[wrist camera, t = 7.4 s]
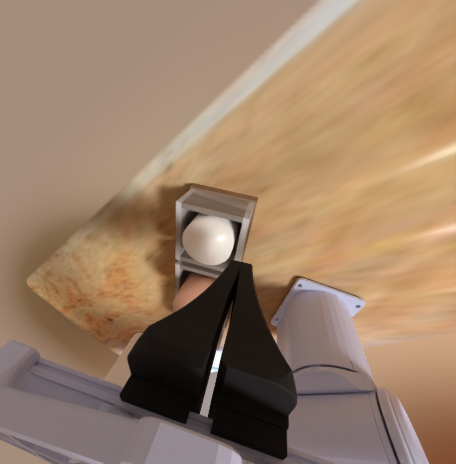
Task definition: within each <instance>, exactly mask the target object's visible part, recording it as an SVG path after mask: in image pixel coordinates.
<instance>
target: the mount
mask: <svg viewBox="0 0 456 464" xmlns="http://www.w3.org/2000/svg"><path fill="white" fill-rule="evenodd" d="M257 199H258V198H256V197H252V196H247V195H243V194H239V193H234V192H230V191H225V190H221V189H216V188H212V187H208V186H203V185H199V184H194V183H193V184H192V185H190V189H189V191H188V192H187V193H185V194H184V195H183V196H182V197H181V198H179V199H178V200H177V201H176V245H175V259H177V262H176V263H175V297H176V296H177V294H178V292H179V290H180V289H181V287H182V285H183V283H184V282H185V280H186V278H187V277H188V275H189V273H190V272H191V271H192V272H195V273H199V274H202V275H206V276H209V277H213V278H218V277H219V276H220V274H221V273H222V272H223V271H224V270H225V268H226V267H227V266H228V264H229V263H230V261H231V260H236V261H240V262H242V261H243V256H244V252H245V248H246V244H247V240H248V236H249V232H250V228H251V224H252V220H253V216H254V212H255V207H256V203H257ZM199 212H200V213H204V214H208V215H212V216H216V217H220V218H224V219H229V220H233V221H237V222H240V229H239V232H238V235H237V238H236V241H235V244H234V246H233V249H232V252H231V255H230V257H229V258H228V259H227V260H226V261H225V262H223V263H221V264H218V265H206V264H202V263H200V262H198V261H196V260H194V259H193V258H192V257H191V256H190V255H189V254H188V253H187V252H186V250H185V248H184V246H183V242H182V236H183V233H184V231H185V229H186V228H187V227H188V225H189V224H190V223H191V222H192V221H193V219H194V218H195V217H196V216H197V215H198V213H199ZM231 306H232V304H231ZM230 310H231V307H230ZM230 310H229V312H228V315H227V318H226V321H225V323H224V326H223V329H222V332H221V335H220V338H219V342H218V346H217V349H218V350H219V347H220V343H221V340H222V336H223V332H224V328H226V326H227V322H228V318H229V314H230Z"/></svg>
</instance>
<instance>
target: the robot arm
mask: <svg viewBox="0 0 456 464" xmlns="http://www.w3.org/2000/svg"><path fill="white" fill-rule="evenodd" d="M252 267H253V266H252V265H251V264H248V263H244V262H240V261H236V260H231V261H230V263H229V264H228V266H227V267H226V268H225V270H224V271H223V272H222V273H221V274H220V276H219V277H218V278H217V279H216V280H215V281H214V282H213V283H212V284H211V285H210V286H209V287H208V288H207V289H206V290H205V291H203V292H202V293H201V294H200V295H199V296H197V297H196V298H195V299H194V300H192V301H191V302H189V303H188V304H187V305H185V306H184V307H182V308H181V309H179V310H177V311H176V312H174V313H172V314H171V315H169V316H167V317H166V318H164V319H162V320H160V321H158V322H156V323H154V324H152V325H150V326H149V327H148V328H147V329H146V330H145V331H144V332H143V334H142V335H141V336H140V337H139V339H138V340H137V341H136V343H135V344H134V346H133V348H132V349H131V351H130V353H129V354H128V356H127V361H128V365H129V368H130V372H131V375H130V377H129V379H128V381H127V382H126V384H125V386H124V387H121V386H119V385H116V384H113V383H110V382H108V381H105V380H102V379H99V378H96V377H93V376H91V375H88V374H85V373H82V372H80V371H77V370H74V369H71V368H69V367H66V366H63V365H60V364H57V363H55V362H52V361H49V360H46V359H44V358H41V357H40V354H39V353H38V352H37V350H36V349H34V348H32V347H31V346H28V345H25V344H22V343H20V342H17V341H14V340H10V341H8V342H7V343H6V344H5V345H4V346H2V347H1V348H0V440H2V441H4V442H7V443H9V444H11V445H13V446H15V447H18V448H20V449H22V450H24V451H26V452H29V453H30V454H33V455H35V456H37V457H39V458H41V459H43V460H46V461H48V462H50V463H52V464H252V463H254V464H429V463H428V460H427V458H426V456H425V454H424V451H423V449H422V447H421V444H420V442H419V440H418V438H417V435H416V433H415V431H414V429H413V427H412V425H411V422H410V420H409V418H408V416H407V414H406V412H405V410H404V408H403V406H402V404H401V402H400V401H399V399H398V398H397V397H396V396H395V395H393V394H392V393H390V392H389V391H388V390H387V389H386V388H377V387H376V385H375V383H374V380H373V377H372V374H371V371H370V368H369V366H368V363H367V360H366V357H365V354H364V351H363V348H362V345H361V343H360V340H359V337H358V334H357V331H356V328H355V326H354V323H353V320H352V317H353V316H354V315H355V314H356V313H357V312H358V311H359V310H360V309H361V308H362V307H363V306H364V305H365V301H364V299H362V298H359V297H356V296H353V295H350V294H347V293H345V292H342V291H339V290H336V289H333V288H330V287H328V286H325V285H322V284H319V283H316V282H313V281H311V280H308V279H305V278H298V279H297V280H296V282H295V283H294V285H293V287H292V288H291V290H290V291H289V293H288V294H287V296H286V297H285V299H284V301H283V302H282V304H281V305H280V307H279V308H278V310H277V312H276V313H275V315H274V316H273V318H272V319H271V324H272V325H273V326H276V327H277V344H276V342H275V340H274V338H273V336H272V334H271V332H270V330H269V328H268V326H267V323H266V321H265V319H264V316H263V313H262V311H261V308H260V305H259V302H258V298H257V294H256V290H255V286H254V281H253V272H252ZM298 284H301V285H298ZM232 301H233V304H232ZM231 304H232V311H231V317H230V324H229V328H228V332H227V336H226V340H225V344H224V348H223V352H222V356H221V360H220V364H219V369H218V374H217V378H216V383H215V387H214V391H213V396H212V399H211V404H210V409H209V414H208V417H205V416H202V415H200V411H201V407H202V403H203V399H204V395H205V391H206V387H207V384H208V380H209V376H210V372H211V368H212V365H213V361H214V357H215V353H216V349H217V346H218V342H219V338H220V335H221V332H222V329H223V326H224V323H225V321H226V318H227V315H228V312H229V310H230V307H231ZM134 418H135V419H134ZM136 419H138V420H136ZM248 461H249V462H248ZM250 462H252V463H250Z"/></svg>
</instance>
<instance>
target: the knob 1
mask: <svg viewBox="0 0 456 464" xmlns="http://www.w3.org/2000/svg"><path fill="white" fill-rule="evenodd" d="M239 229H240V222H237V221H233V220H229V219H224V218H220V217H216V216H212V215H208V214H204V213H200V212H199V213H198V215H197V216H196V217H195V218H194V219H193V221H192V222H191V223H190V224H189V225H188V227H187V228H186V229H185V231H184V233H183V236H182V242H183V246H184V248H185V250H186V252H187V253H188V254H189V255H190V256H191V257H192V258H193V259H194V260H196V261H198V262H200V263H202V264H206V265H218V264H221V263H223V262H225V261H226V260H227V259H228V258H229V257H230V255H231V252H232V249H233V246H234V244H235V241H236V238H237V235H238V232H239Z"/></svg>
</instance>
